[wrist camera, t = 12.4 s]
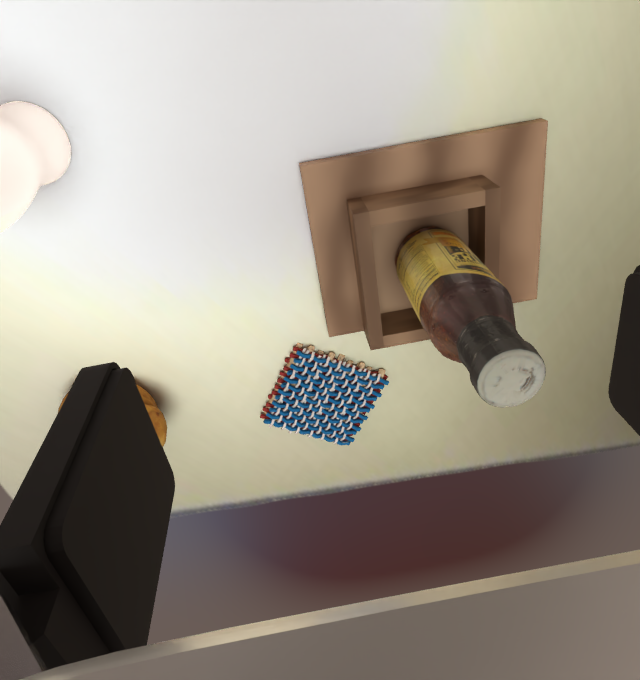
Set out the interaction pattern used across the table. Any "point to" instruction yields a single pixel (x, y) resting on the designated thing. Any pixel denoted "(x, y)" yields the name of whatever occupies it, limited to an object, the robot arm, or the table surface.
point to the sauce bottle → (468, 316)
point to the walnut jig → (423, 220)
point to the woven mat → (323, 395)
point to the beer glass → (28, 156)
